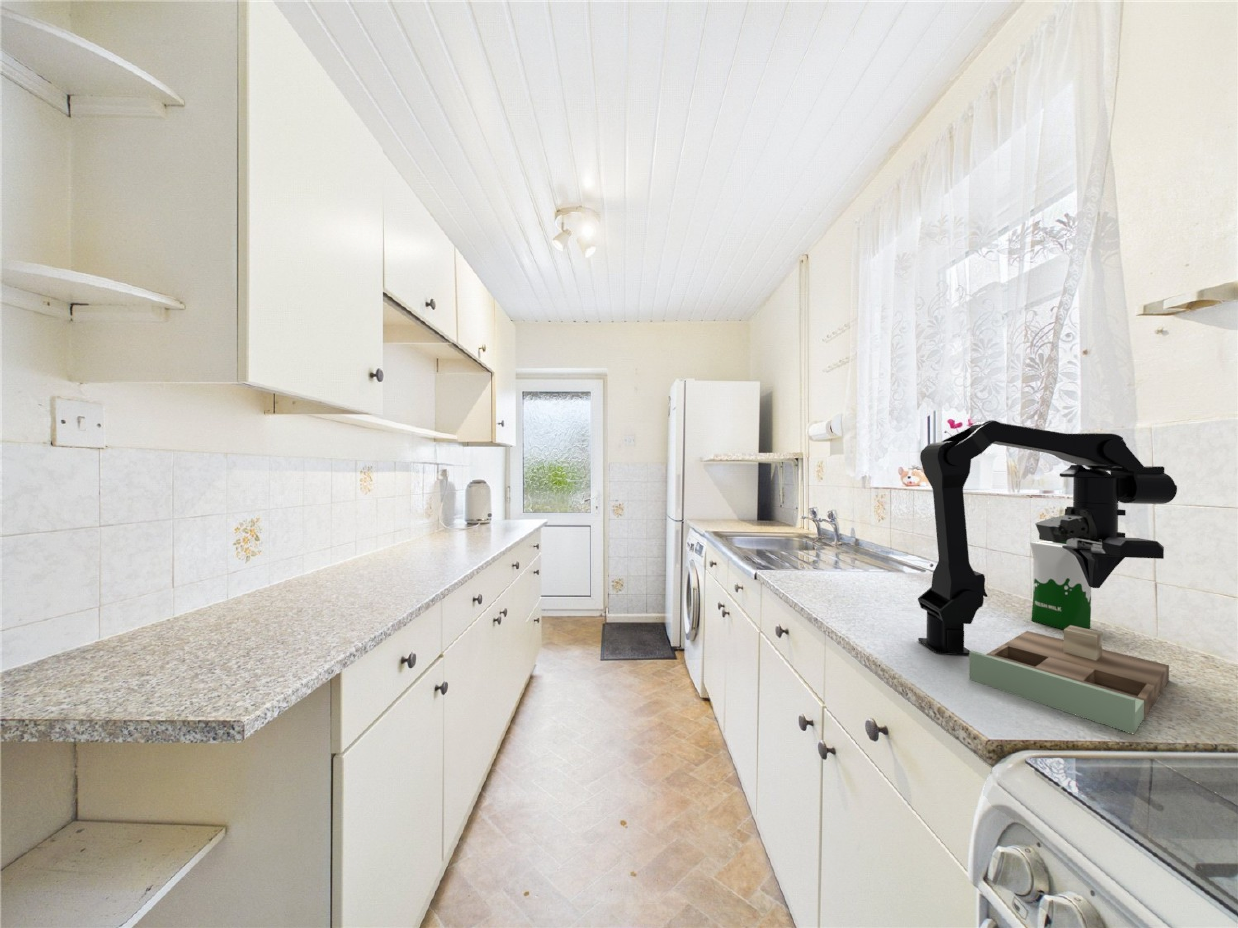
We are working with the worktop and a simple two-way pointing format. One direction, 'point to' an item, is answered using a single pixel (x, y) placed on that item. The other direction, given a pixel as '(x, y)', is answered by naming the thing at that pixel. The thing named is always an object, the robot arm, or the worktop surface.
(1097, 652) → the maple block
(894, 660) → the worktop surface
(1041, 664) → the trap board
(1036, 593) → the milk carton
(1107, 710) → the pad
